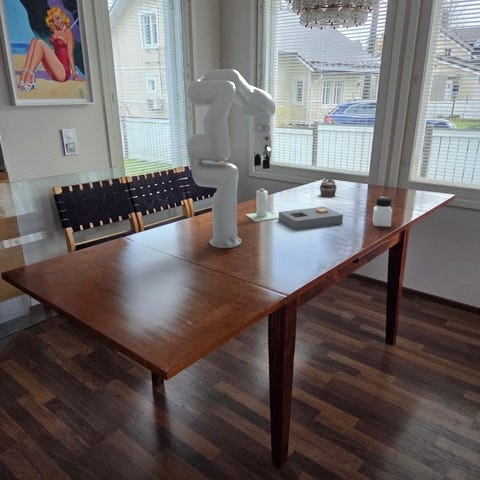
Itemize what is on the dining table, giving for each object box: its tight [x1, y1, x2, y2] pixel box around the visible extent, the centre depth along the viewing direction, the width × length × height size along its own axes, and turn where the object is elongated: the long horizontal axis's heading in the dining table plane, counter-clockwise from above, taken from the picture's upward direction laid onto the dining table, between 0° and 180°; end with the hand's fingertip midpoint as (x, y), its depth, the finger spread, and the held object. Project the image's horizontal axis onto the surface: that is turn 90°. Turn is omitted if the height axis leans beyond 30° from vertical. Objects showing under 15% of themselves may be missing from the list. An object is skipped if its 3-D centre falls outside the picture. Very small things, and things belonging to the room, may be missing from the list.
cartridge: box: [255, 188, 268, 218], centre depth 193 cm, size 5×5×13 cm
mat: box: [245, 211, 279, 223], centre depth 195 cm, size 12×12×1 cm
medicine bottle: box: [372, 196, 394, 228], centre depth 179 cm, size 7×7×12 cm
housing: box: [278, 206, 344, 231], centre depth 186 cm, size 16×24×4 cm, turn 111°
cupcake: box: [319, 177, 337, 198], centre depth 234 cm, size 10×10×10 cm
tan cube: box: [316, 208, 328, 214], centre depth 188 cm, size 4×4×4 cm
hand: (261, 167), depth 187 cm, fingers open, 9 cm apart
